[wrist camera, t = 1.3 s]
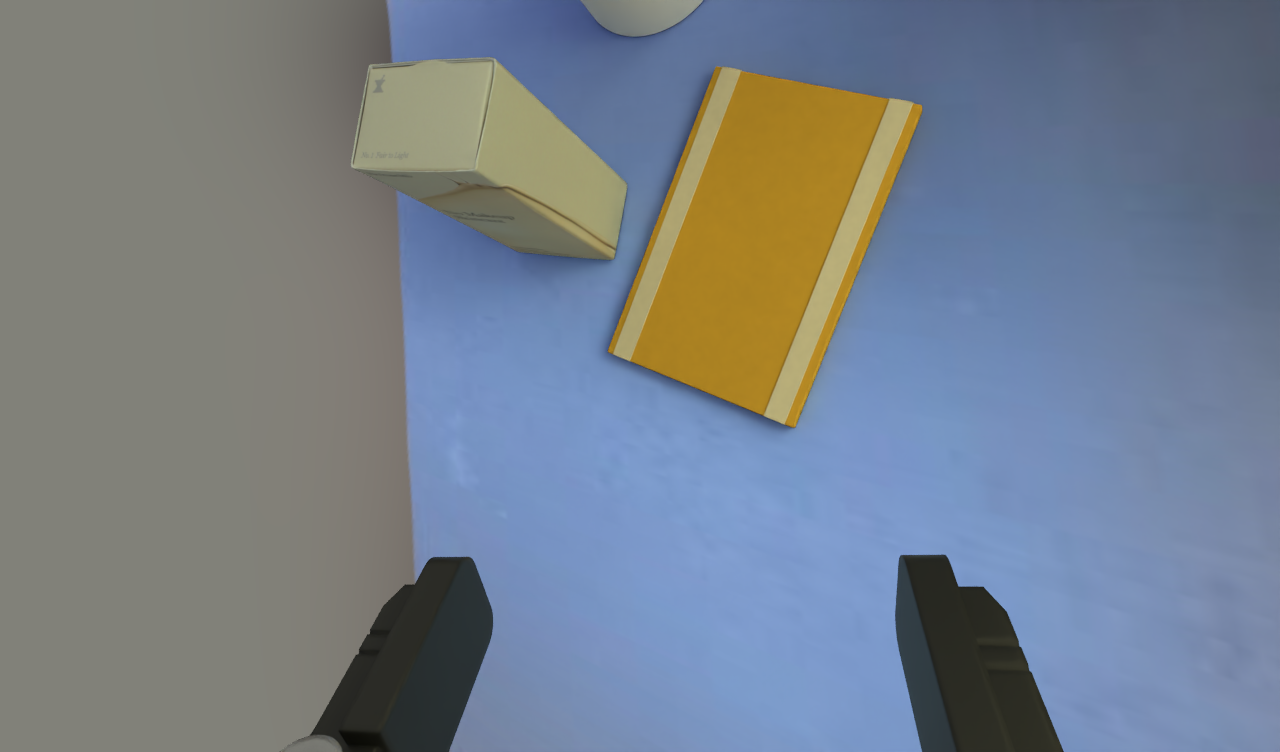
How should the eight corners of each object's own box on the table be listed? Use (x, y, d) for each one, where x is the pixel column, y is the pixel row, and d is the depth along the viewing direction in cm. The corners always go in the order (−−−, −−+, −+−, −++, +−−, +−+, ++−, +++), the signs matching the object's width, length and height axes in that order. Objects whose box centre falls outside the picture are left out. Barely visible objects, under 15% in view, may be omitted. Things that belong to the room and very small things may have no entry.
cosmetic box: (518, 253, 37) (343, 172, 26) (532, 175, 37) (363, 61, 26) (619, 261, 35) (473, 176, 24) (634, 177, 35) (495, 52, 24)
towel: (718, 71, 33) (715, 64, 33) (922, 110, 29) (922, 103, 29) (611, 353, 34) (605, 351, 34) (795, 428, 30) (792, 427, 30)
